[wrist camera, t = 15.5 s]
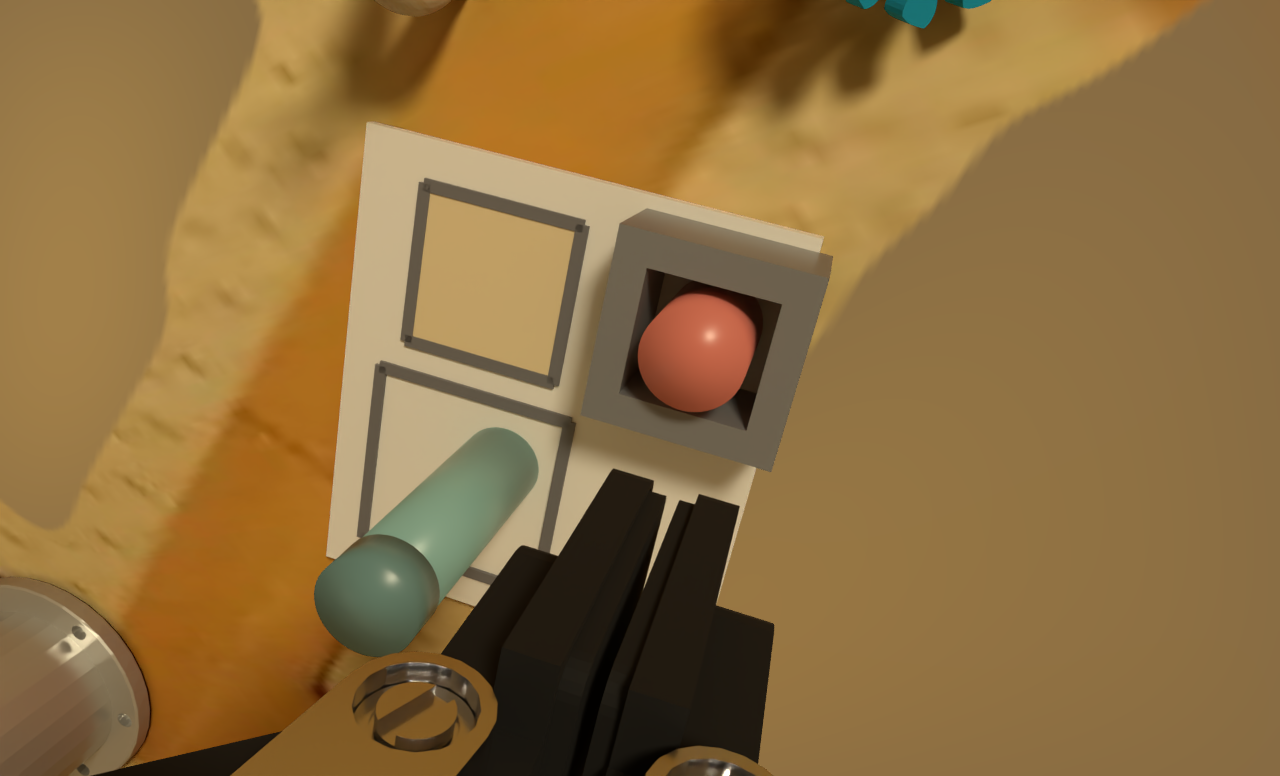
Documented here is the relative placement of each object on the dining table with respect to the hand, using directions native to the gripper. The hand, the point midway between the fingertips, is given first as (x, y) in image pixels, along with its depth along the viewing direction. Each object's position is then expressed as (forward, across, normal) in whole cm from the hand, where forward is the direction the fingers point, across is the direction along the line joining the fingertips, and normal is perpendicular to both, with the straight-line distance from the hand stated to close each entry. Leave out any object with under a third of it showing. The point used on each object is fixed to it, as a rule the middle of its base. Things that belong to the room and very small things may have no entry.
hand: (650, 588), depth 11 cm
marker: (+23, +9, +11) cm, 27 cm away
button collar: (+22, +2, +2) cm, 23 cm away
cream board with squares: (+23, +8, +8) cm, 26 cm away
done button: (+22, +2, +2) cm, 23 cm away
